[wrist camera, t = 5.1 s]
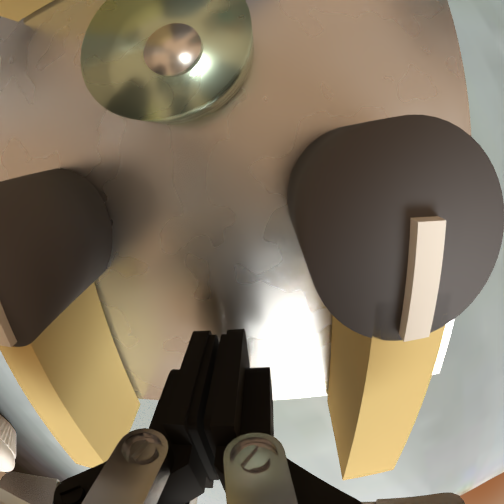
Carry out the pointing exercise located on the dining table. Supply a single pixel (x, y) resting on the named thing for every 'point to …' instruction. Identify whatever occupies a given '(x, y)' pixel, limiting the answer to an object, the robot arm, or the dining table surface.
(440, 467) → the dining table surface
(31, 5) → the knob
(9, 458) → the white carved ornament
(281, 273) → the base plate
